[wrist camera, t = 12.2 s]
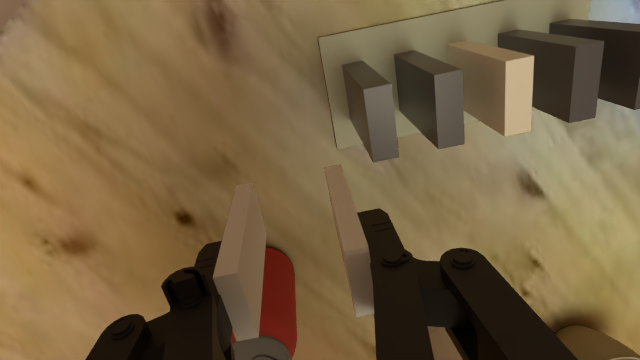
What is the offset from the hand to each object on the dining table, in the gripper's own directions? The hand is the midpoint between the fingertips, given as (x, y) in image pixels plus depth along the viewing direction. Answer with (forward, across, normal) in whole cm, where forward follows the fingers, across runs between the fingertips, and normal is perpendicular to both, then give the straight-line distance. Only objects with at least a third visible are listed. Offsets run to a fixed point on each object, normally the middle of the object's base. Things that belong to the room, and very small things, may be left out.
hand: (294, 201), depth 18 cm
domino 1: (+18, +6, 0) cm, 19 cm away
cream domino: (+18, +15, 0) cm, 24 cm away
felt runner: (+19, +15, 0) cm, 24 cm away
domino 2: (+18, +10, 0) cm, 21 cm away
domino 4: (+18, +24, 0) cm, 30 cm away
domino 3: (+18, +20, 0) cm, 27 cm away
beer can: (+19, -6, -17) cm, 26 cm away
